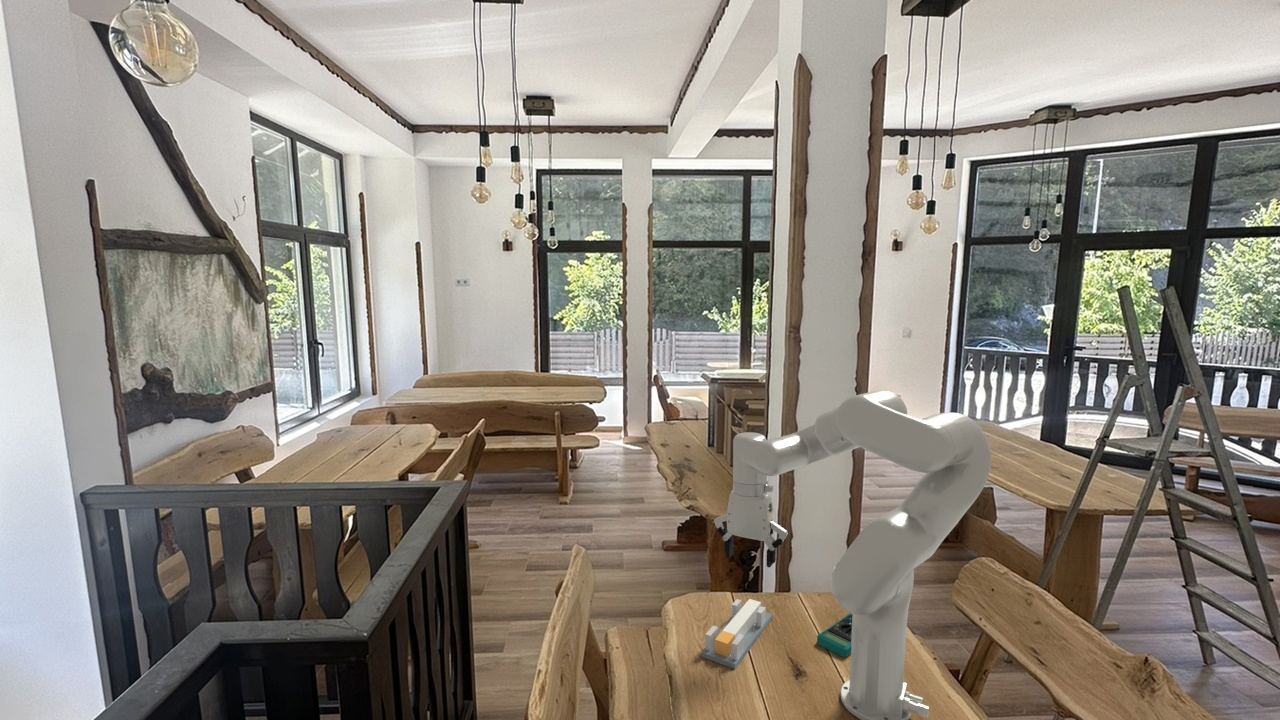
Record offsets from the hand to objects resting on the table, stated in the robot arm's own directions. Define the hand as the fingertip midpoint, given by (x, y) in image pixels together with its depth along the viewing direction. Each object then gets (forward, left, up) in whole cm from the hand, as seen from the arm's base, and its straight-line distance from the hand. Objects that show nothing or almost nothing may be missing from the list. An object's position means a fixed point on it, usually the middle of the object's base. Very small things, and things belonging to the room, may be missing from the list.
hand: (749, 560), depth 133 cm
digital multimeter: (-20, -10, -19) cm, 29 cm away
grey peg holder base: (+2, +2, -18) cm, 18 cm away
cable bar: (+1, +2, -17) cm, 17 cm away
